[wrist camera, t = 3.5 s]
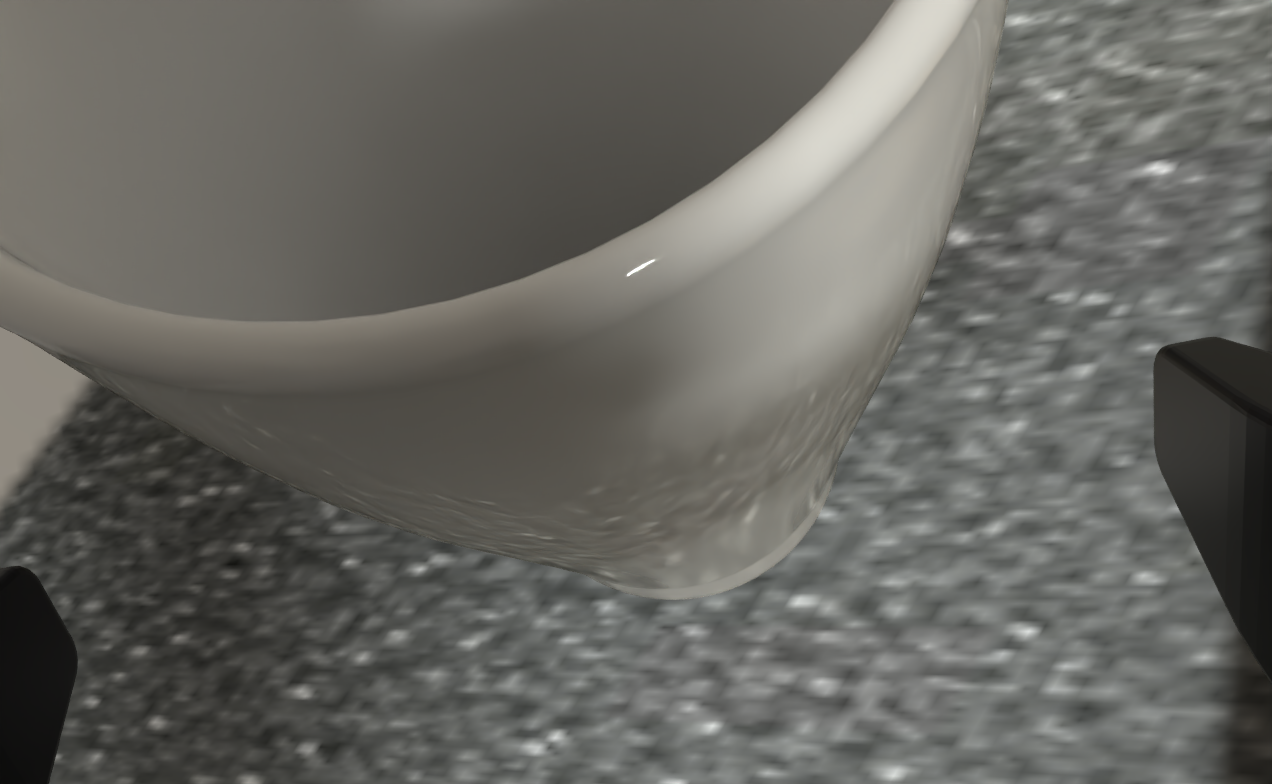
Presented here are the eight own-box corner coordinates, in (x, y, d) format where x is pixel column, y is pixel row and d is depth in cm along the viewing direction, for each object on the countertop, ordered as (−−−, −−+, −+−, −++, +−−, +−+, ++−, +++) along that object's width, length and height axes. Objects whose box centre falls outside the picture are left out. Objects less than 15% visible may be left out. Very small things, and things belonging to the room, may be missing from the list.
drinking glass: (440, 330, 21) (-320, -496, 7) (801, 205, 21) (782, -929, 7) (543, 705, 19) (-233, 619, 5) (946, 572, 19) (1365, 68, 5)
